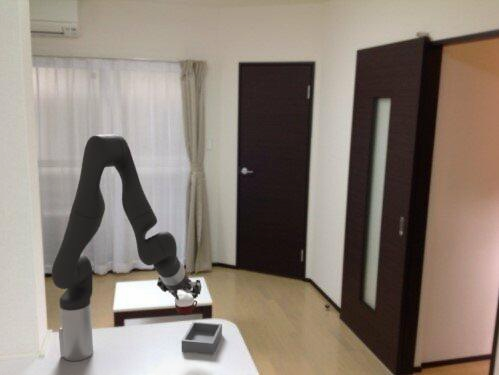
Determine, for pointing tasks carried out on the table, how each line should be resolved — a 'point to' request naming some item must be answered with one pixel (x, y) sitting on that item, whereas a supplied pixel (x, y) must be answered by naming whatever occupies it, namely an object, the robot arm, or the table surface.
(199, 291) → the robot arm
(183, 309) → the cocoa
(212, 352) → the dock tray
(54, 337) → the table surface
